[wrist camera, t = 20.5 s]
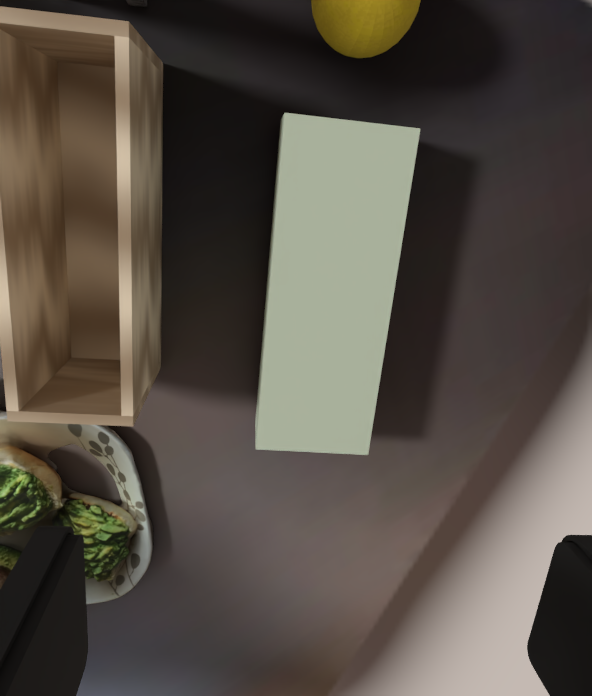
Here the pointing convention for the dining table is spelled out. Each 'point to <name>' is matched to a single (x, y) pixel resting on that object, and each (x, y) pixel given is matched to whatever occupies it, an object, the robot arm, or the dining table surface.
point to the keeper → (137, 3)
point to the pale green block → (331, 280)
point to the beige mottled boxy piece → (79, 218)
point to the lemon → (363, 24)
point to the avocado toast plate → (73, 504)
